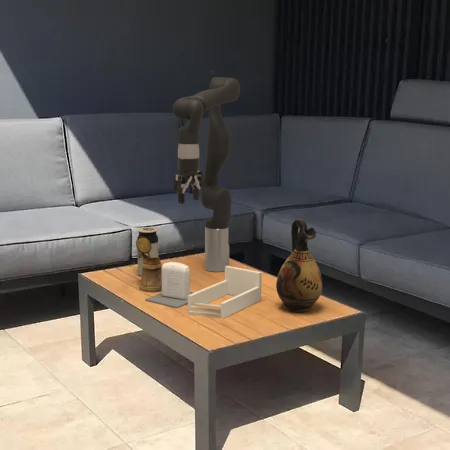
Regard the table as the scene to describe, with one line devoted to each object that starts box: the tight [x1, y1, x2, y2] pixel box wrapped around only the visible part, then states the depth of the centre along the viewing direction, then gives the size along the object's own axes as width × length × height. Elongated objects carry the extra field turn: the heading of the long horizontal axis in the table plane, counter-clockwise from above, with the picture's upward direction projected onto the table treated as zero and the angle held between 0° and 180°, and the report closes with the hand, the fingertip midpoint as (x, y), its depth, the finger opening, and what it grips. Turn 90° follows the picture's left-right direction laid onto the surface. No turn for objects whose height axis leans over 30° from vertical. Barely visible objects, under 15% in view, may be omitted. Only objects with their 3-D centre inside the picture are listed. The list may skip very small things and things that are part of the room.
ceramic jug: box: [275, 218, 323, 313], centre depth 239 cm, size 17×15×30 cm
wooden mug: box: [135, 236, 163, 293], centre depth 261 cm, size 9×14×18 cm, turn 32°
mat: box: [144, 291, 195, 309], centre depth 250 cm, size 16×14×1 cm
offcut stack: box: [187, 303, 222, 319], centre depth 235 cm, size 5×11×3 cm, turn 76°
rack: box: [187, 265, 263, 319], centre depth 243 cm, size 23×14×10 cm, turn 145°
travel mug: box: [136, 227, 159, 277], centre depth 277 cm, size 8×8×18 cm
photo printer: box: [161, 261, 191, 300], centre depth 249 cm, size 10×4×12 cm, turn 66°
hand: (188, 201), depth 256 cm, fingers open, 8 cm apart
